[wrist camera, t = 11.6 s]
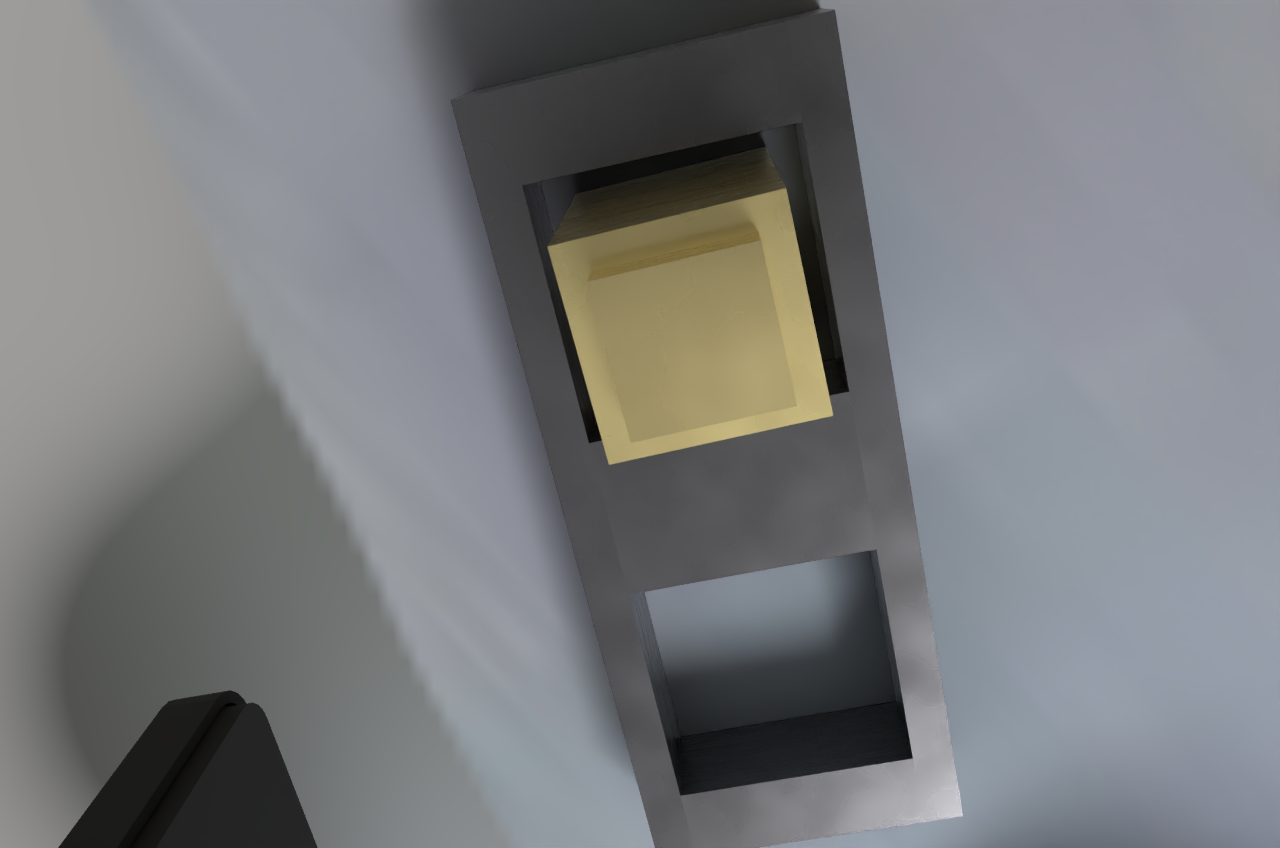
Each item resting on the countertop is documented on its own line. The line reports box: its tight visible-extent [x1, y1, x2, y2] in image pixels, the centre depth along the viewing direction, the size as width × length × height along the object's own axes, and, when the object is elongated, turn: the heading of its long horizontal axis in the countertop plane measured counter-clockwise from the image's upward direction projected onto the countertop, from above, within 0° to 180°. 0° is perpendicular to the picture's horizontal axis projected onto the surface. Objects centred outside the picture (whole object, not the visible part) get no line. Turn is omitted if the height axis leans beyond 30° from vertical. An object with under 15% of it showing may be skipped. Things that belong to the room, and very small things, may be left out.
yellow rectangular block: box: [547, 147, 833, 465], centre depth 24 cm, size 4×4×7 cm
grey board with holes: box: [451, 8, 963, 848], centre depth 28 cm, size 20×8×2 cm, turn 13°
